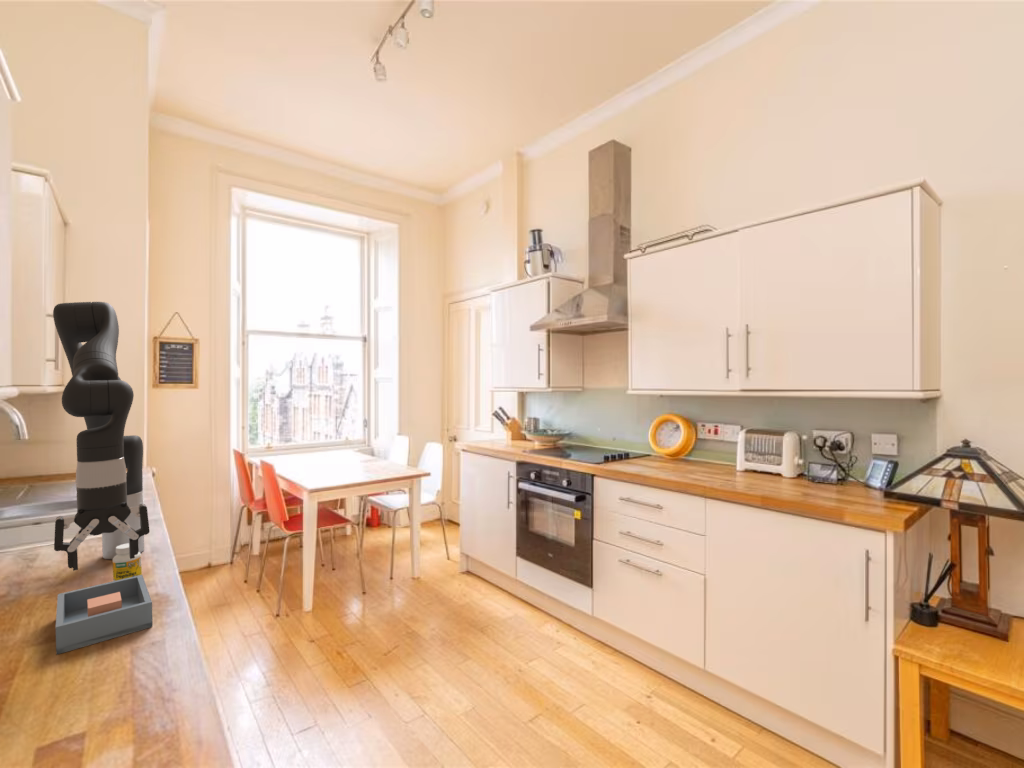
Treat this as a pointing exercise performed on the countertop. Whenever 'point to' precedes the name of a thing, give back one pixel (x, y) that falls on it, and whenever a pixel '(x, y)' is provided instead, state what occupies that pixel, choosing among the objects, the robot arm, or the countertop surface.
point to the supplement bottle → (126, 563)
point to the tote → (85, 630)
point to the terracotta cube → (104, 604)
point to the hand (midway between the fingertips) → (104, 563)
